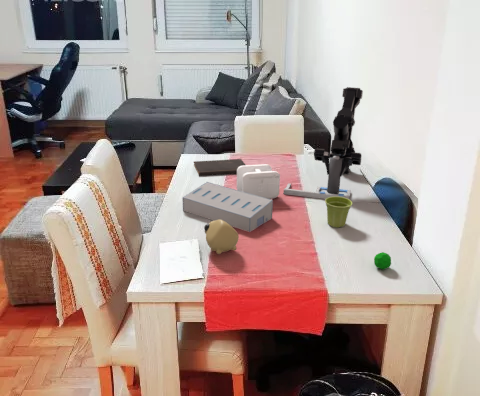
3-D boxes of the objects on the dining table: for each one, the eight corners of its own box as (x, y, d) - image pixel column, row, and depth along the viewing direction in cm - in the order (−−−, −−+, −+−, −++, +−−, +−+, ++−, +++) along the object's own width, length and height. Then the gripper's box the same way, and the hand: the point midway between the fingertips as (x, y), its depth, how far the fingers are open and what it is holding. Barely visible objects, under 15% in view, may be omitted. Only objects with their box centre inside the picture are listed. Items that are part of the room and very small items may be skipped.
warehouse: (182, 211, 185) (182, 192, 183) (207, 199, 196) (207, 181, 194) (249, 233, 170) (250, 212, 167) (272, 219, 181) (272, 199, 178)
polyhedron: (387, 263, 151) (389, 249, 149) (392, 272, 147) (394, 257, 145) (371, 263, 151) (372, 249, 149) (375, 272, 146) (377, 257, 145)
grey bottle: (325, 189, 205) (328, 155, 200) (336, 189, 206) (340, 154, 200) (328, 194, 201) (332, 158, 195) (340, 193, 202) (344, 158, 196)
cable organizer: (271, 190, 207) (272, 163, 202) (279, 199, 197) (280, 171, 193) (236, 192, 203) (236, 165, 199) (242, 202, 194) (243, 174, 189)
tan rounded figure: (227, 239, 164) (227, 209, 160) (243, 255, 154) (244, 224, 150) (199, 244, 160) (198, 214, 156) (214, 261, 150) (214, 229, 146)
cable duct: (288, 184, 213) (289, 178, 212) (350, 191, 207) (351, 185, 206) (283, 193, 203) (283, 188, 202) (348, 201, 196) (349, 195, 195)
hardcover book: (193, 166, 235) (193, 161, 234) (241, 163, 240) (241, 158, 239) (199, 177, 221) (198, 172, 220) (249, 174, 226) (249, 169, 225)
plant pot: (351, 220, 180) (354, 198, 176) (347, 231, 171) (350, 208, 168) (325, 216, 182) (327, 194, 179) (320, 227, 174) (322, 204, 171)
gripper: (316, 129, 200) (309, 163, 195) (363, 133, 195) (358, 168, 190) (318, 142, 210) (311, 176, 205) (363, 147, 205) (357, 181, 200)
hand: (334, 175), depth 199 cm, fingers closed on grey bottle, 5 cm apart
